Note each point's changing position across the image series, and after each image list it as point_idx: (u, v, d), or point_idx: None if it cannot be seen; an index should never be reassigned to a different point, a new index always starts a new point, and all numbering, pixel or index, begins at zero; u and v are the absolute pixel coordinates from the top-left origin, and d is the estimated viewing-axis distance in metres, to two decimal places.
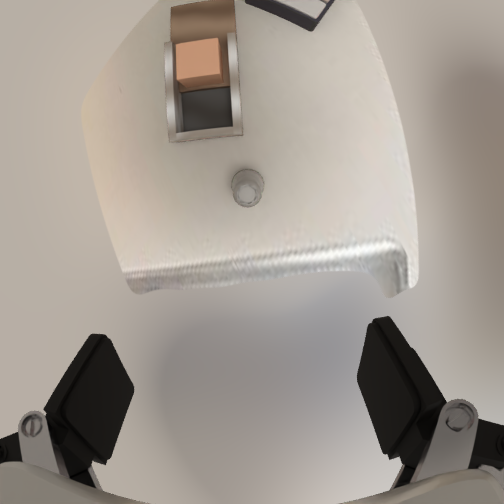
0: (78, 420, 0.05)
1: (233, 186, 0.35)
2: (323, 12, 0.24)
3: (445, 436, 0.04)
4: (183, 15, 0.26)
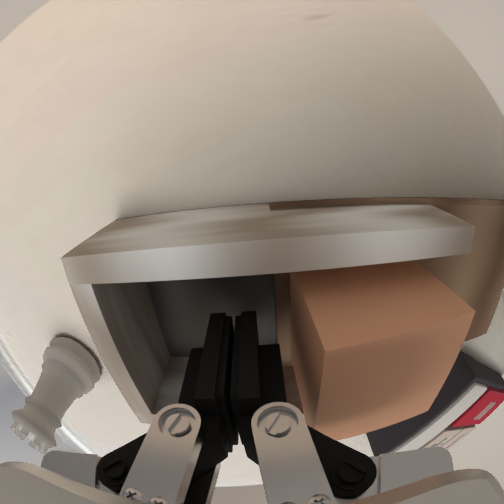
0: (227, 403, 0.06)
1: (54, 355, 0.13)
2: None
3: (272, 447, 0.05)
4: (497, 238, 0.10)
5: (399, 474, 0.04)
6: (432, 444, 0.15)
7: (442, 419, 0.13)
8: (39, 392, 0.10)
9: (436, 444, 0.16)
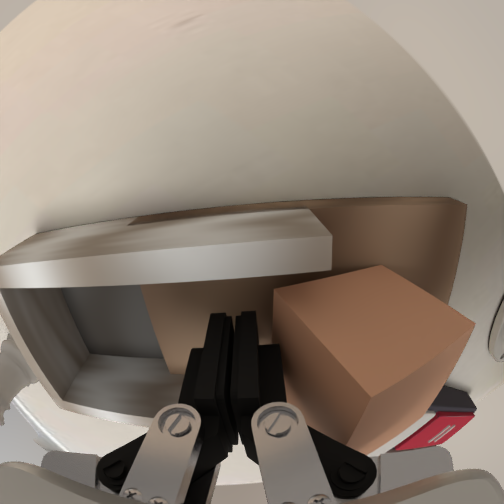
0: (227, 403, 0.06)
1: (6, 347, 0.12)
2: None
3: (272, 447, 0.05)
4: (430, 245, 0.10)
5: (399, 474, 0.04)
6: None
7: None
8: None
9: None
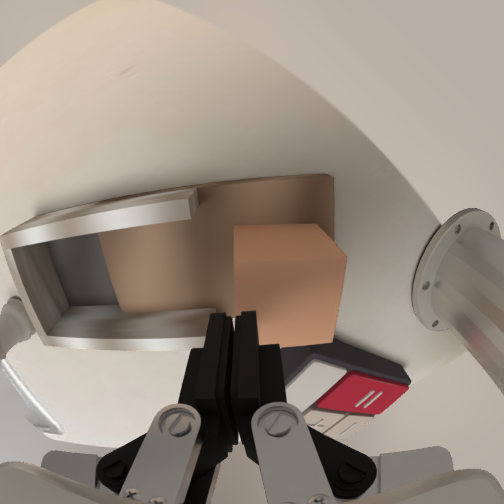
0: (227, 403, 0.06)
1: (6, 309, 0.17)
2: None
3: (272, 447, 0.05)
4: (299, 210, 0.16)
5: (400, 474, 0.04)
6: None
7: (289, 392, 0.19)
8: None
9: (312, 424, 0.22)
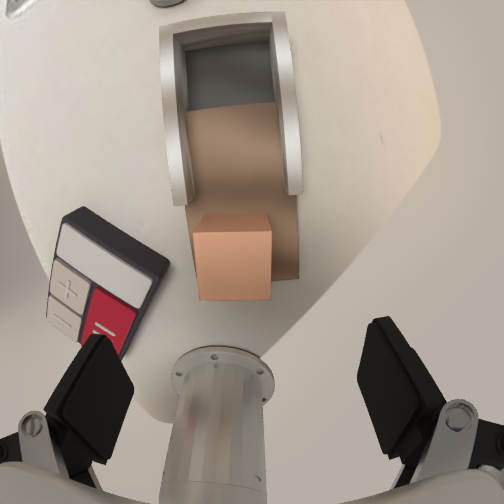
0: (78, 420, 0.05)
1: None
2: (58, 237, 0.21)
3: (445, 436, 0.04)
4: (276, 257, 0.23)
5: None
6: (71, 279, 0.22)
7: (114, 263, 0.21)
8: None
9: (69, 286, 0.22)
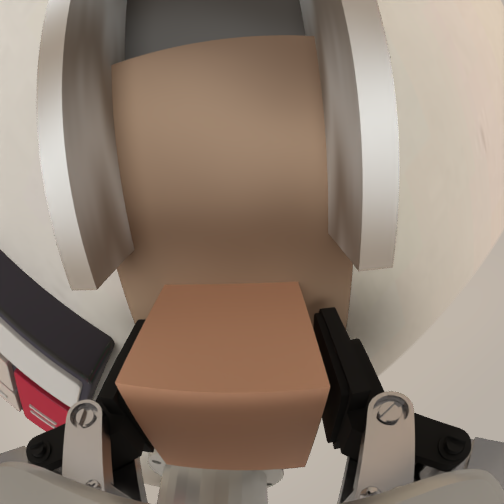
0: None
1: None
2: None
3: (379, 432, 0.04)
4: None
5: (483, 460, 0.03)
6: None
7: (22, 348, 0.09)
8: None
9: None
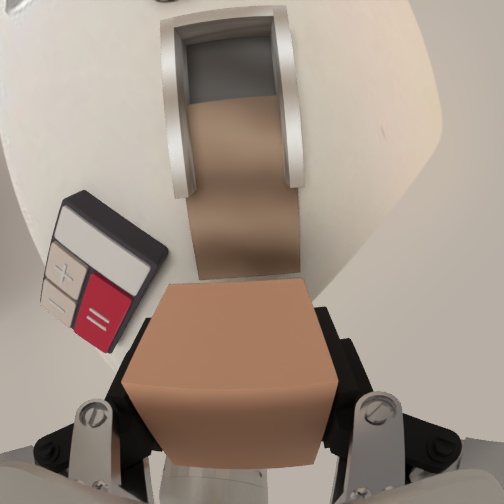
0: None
1: None
2: (57, 220, 0.20)
3: (367, 432, 0.05)
4: (278, 250, 0.23)
5: (475, 460, 0.03)
6: (68, 263, 0.21)
7: (112, 248, 0.21)
8: None
9: (65, 270, 0.22)
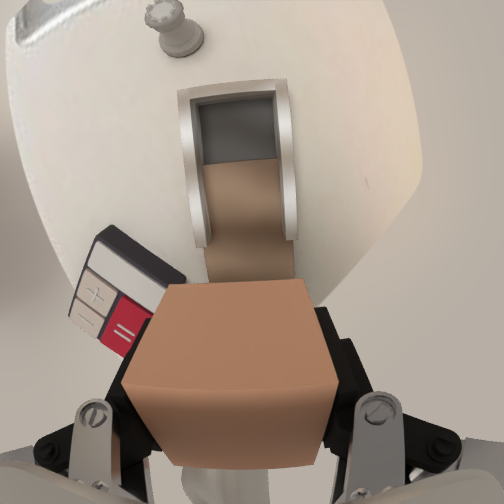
0: None
1: (197, 31, 0.19)
2: (90, 251, 0.26)
3: (367, 432, 0.05)
4: None
5: (475, 460, 0.03)
6: (100, 287, 0.27)
7: (141, 278, 0.26)
8: (184, 21, 0.16)
9: (97, 293, 0.27)
